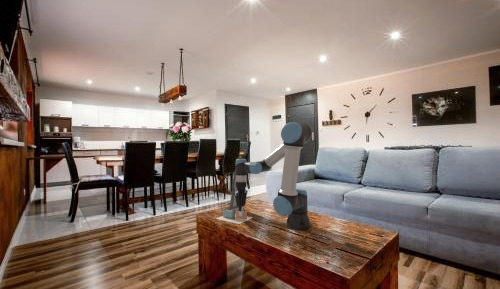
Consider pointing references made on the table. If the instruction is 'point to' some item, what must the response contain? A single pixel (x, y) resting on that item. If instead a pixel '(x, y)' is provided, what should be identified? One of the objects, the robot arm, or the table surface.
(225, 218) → the card
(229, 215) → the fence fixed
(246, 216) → the fence panel
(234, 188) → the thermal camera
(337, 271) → the table surface
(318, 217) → the table surface
